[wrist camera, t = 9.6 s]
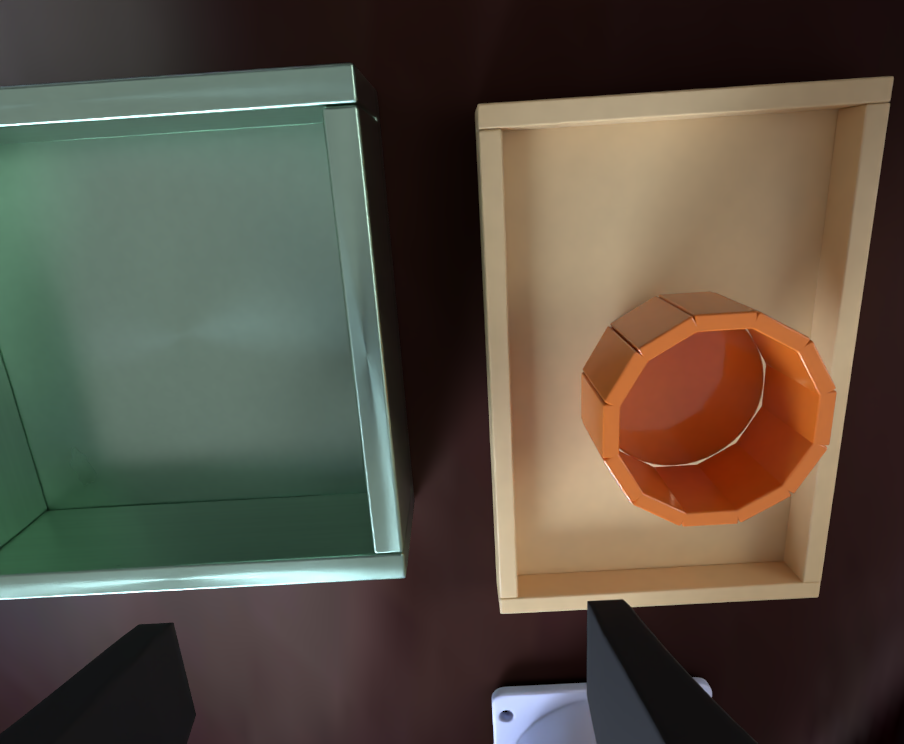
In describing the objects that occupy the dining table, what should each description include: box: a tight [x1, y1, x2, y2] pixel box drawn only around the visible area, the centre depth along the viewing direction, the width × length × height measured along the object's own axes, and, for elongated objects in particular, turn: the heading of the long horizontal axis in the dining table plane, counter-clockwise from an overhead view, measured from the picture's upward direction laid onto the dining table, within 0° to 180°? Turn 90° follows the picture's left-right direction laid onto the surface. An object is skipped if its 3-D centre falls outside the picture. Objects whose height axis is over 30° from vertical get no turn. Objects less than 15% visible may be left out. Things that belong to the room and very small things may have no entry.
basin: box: [0, 62, 415, 600], centre depth 16 cm, size 13×13×4 cm
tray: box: [475, 76, 894, 614], centre depth 18 cm, size 15×10×2 cm
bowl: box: [581, 291, 837, 527], centre depth 16 cm, size 5×5×4 cm
